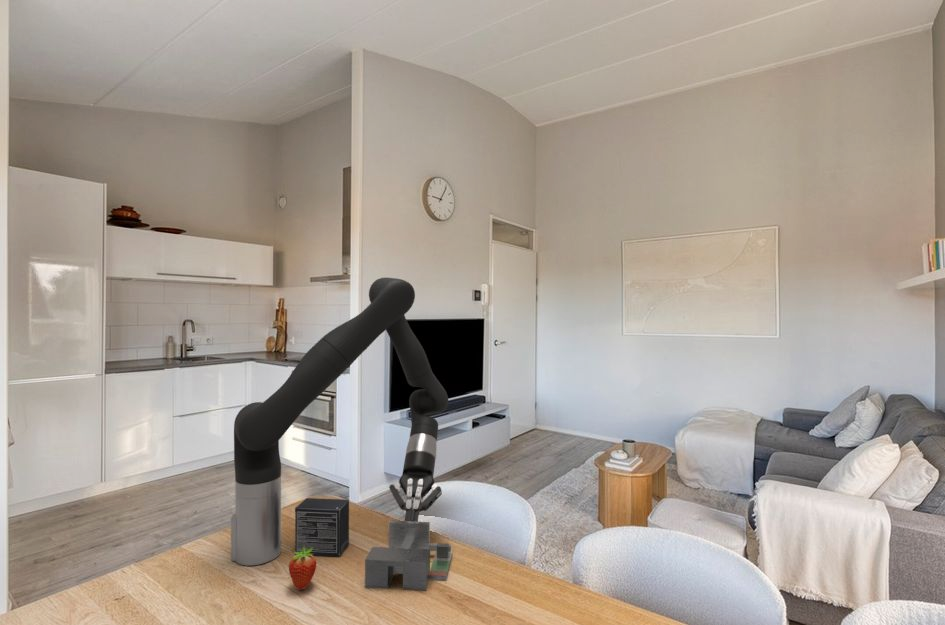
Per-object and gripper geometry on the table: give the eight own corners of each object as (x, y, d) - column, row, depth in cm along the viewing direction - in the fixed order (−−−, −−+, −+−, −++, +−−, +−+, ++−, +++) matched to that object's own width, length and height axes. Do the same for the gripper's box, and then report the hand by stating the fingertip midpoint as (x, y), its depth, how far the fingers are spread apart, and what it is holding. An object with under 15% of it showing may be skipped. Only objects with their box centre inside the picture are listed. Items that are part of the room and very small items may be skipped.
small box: (350, 543, 111) (350, 498, 111) (340, 557, 105) (340, 510, 105) (306, 540, 112) (306, 496, 112) (293, 555, 106) (293, 507, 106)
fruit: (283, 588, 93) (283, 547, 93) (307, 577, 97) (307, 538, 97) (297, 599, 90) (297, 557, 90) (322, 587, 94) (322, 546, 93)
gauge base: (365, 587, 94) (365, 559, 94) (383, 551, 107) (383, 527, 107) (443, 591, 92) (443, 563, 92) (452, 554, 106) (452, 530, 106)
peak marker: (436, 557, 103) (436, 546, 103) (437, 553, 105) (437, 542, 105) (447, 557, 103) (447, 546, 103) (448, 553, 104) (448, 543, 104)
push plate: (376, 579, 96) (376, 544, 96) (389, 551, 107) (389, 520, 107) (444, 582, 95) (444, 547, 95) (451, 554, 106) (451, 523, 106)
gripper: (391, 448, 117) (378, 520, 105) (445, 450, 116) (437, 522, 104) (396, 463, 123) (384, 533, 111) (448, 464, 122) (440, 535, 110)
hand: (410, 527), depth 107 cm, fingers closed
